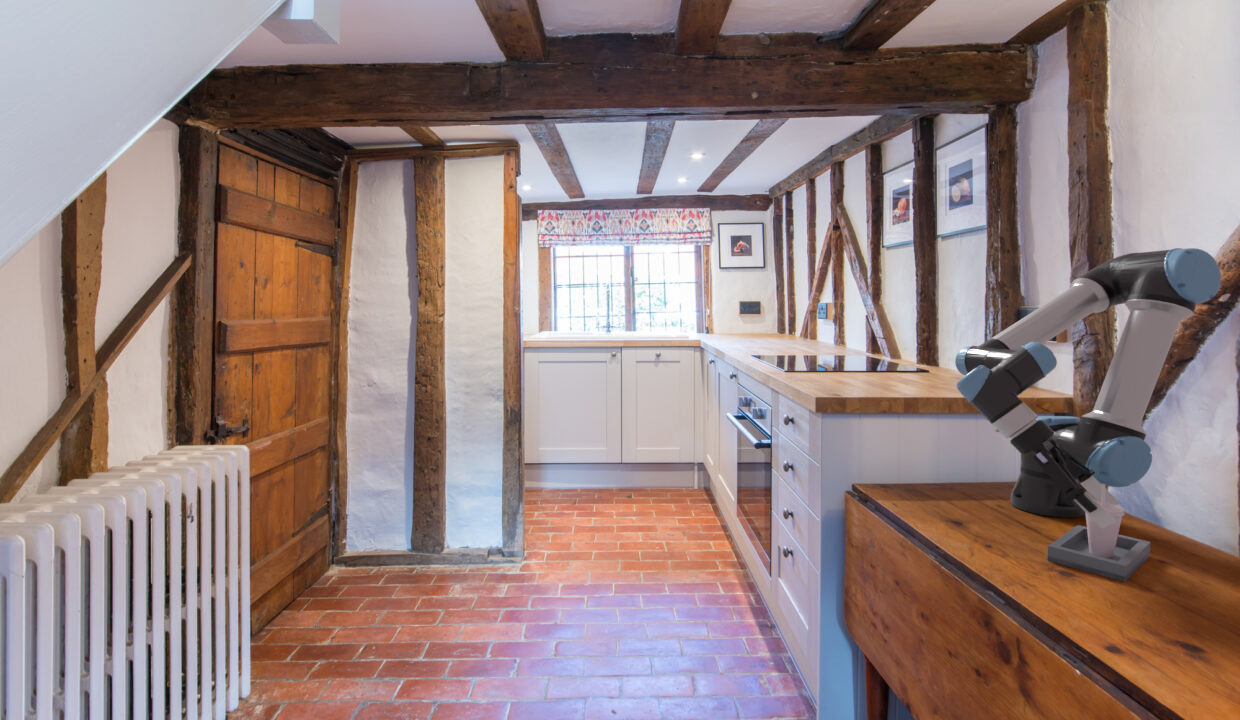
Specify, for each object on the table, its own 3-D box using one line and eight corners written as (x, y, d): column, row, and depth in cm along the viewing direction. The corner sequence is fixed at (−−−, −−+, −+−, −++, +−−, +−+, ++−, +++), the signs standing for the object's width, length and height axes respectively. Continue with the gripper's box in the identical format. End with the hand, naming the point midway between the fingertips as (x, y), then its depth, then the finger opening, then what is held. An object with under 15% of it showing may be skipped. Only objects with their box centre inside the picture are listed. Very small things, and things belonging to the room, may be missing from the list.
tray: (1076, 538, 129) (1077, 524, 129) (1149, 556, 119) (1150, 541, 119) (1047, 560, 118) (1048, 545, 118) (1124, 582, 108) (1126, 566, 108)
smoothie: (1113, 549, 120) (1117, 481, 119) (1128, 562, 114) (1132, 491, 113) (1075, 545, 122) (1078, 479, 121) (1088, 558, 116) (1092, 488, 115)
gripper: (1018, 430, 137) (1098, 508, 128) (996, 450, 118) (1088, 543, 110) (1048, 410, 133) (1132, 489, 124) (1030, 427, 114) (1127, 522, 106)
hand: (1111, 515), depth 117 cm, fingers open, 13 cm apart
